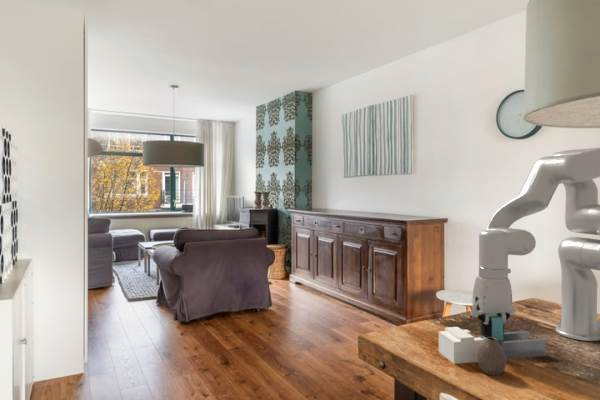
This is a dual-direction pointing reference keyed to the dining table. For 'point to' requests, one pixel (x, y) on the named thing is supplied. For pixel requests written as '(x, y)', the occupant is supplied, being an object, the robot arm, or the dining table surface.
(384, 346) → the dining table surface
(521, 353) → the guide channel
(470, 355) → the socket block
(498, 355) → the vase
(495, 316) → the teal-tipped grey beam
